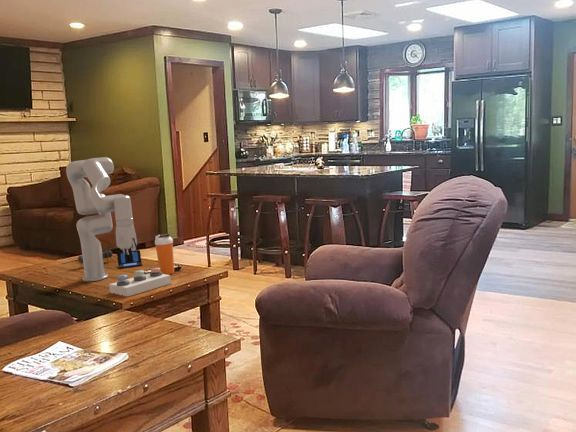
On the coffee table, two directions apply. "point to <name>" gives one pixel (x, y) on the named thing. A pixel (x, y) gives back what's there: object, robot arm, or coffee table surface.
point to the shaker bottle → (165, 253)
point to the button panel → (140, 284)
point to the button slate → (122, 277)
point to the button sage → (139, 272)
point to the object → (135, 263)
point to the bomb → (105, 255)
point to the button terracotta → (155, 270)
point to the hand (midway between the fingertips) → (129, 262)
